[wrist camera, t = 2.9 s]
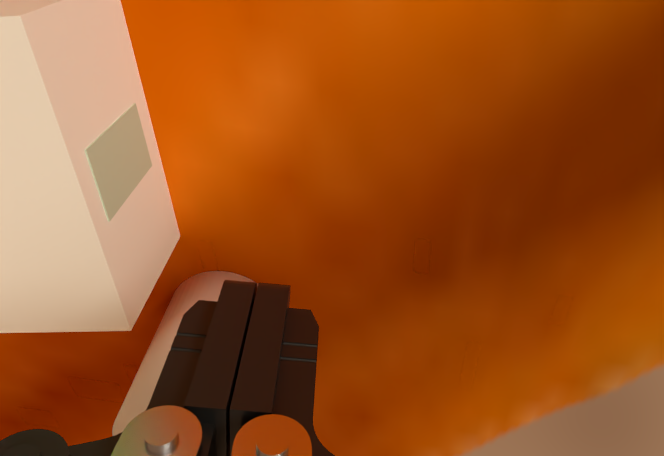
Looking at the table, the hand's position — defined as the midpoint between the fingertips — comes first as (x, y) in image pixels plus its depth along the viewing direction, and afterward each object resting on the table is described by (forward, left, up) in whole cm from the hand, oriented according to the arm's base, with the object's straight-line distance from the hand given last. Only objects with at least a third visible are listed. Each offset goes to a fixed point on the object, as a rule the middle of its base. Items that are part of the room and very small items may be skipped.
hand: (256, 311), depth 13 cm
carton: (+9, 0, -10) cm, 14 cm away
